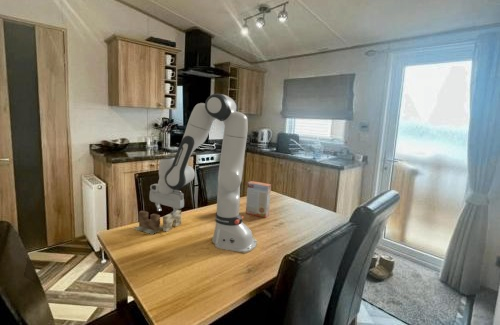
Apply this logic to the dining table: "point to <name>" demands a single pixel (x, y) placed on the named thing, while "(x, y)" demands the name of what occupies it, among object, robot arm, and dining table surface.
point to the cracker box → (258, 199)
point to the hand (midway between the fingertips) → (166, 212)
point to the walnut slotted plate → (149, 223)
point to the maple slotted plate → (169, 218)
